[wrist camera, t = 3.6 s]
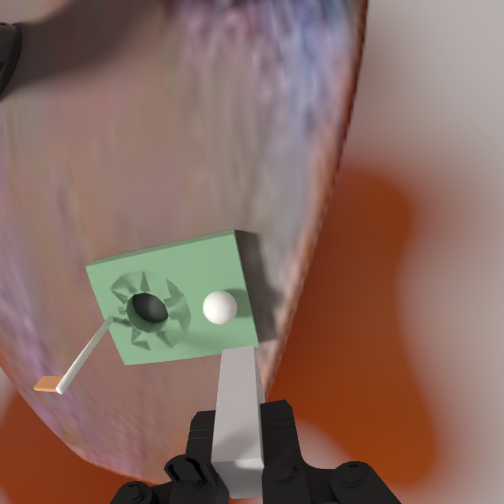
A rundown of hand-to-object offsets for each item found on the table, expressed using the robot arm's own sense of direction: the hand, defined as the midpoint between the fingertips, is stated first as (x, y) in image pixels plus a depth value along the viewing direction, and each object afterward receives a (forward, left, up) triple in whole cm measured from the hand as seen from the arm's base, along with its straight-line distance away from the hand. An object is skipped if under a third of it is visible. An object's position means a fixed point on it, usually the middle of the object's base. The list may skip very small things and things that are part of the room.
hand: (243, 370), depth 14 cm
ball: (-3, -4, -17) cm, 18 cm away
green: (-10, -4, -21) cm, 24 cm away
